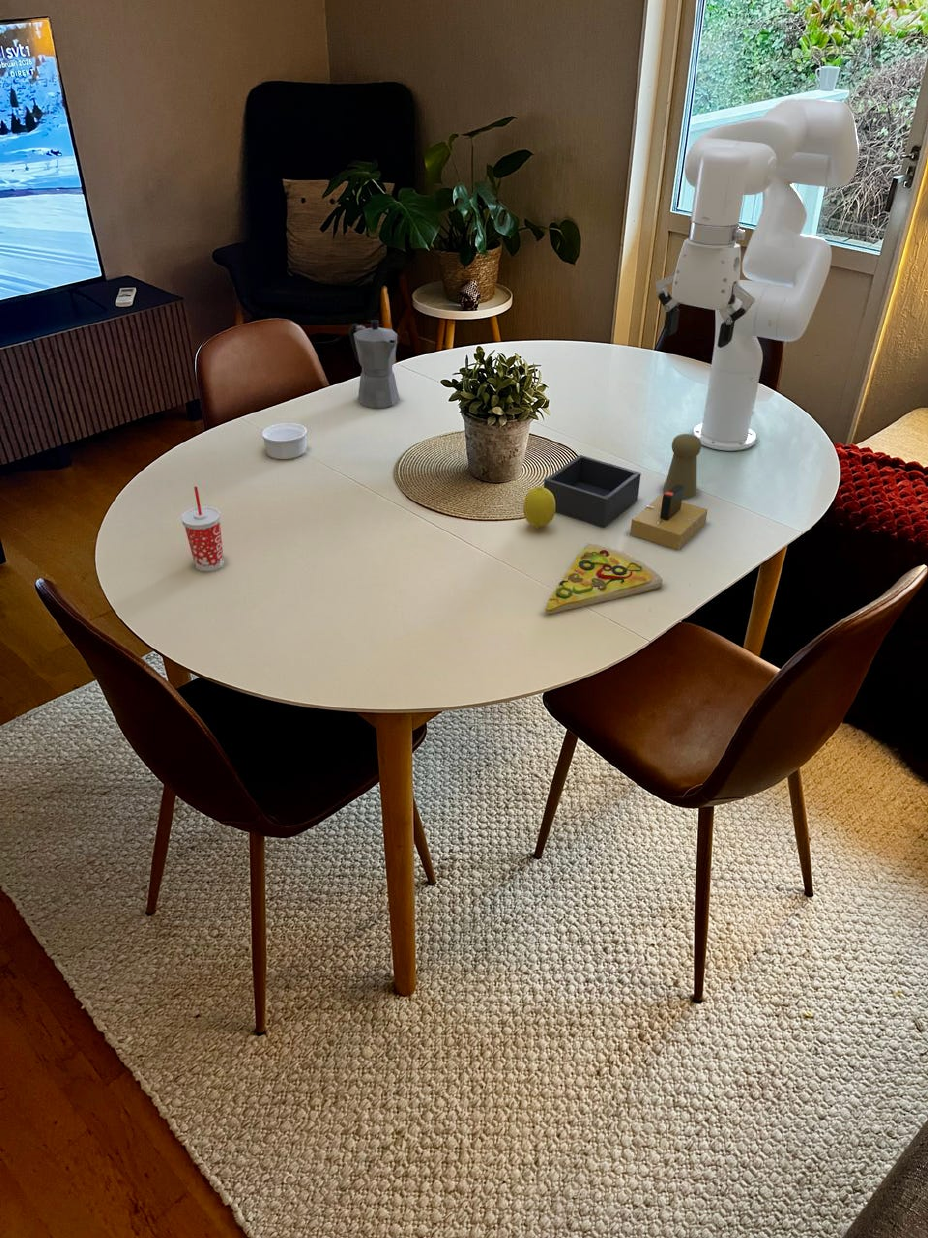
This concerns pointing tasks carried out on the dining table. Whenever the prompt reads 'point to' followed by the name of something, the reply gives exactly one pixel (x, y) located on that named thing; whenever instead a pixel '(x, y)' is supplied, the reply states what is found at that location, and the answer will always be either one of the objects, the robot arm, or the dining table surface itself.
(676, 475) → the cork
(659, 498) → the block
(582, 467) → the sink basin
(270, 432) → the ramekin
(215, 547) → the beverage cup
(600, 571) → the pizza slice
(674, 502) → the tap handle
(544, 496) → the lemon
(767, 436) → the dining table surface
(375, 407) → the coffeepot
